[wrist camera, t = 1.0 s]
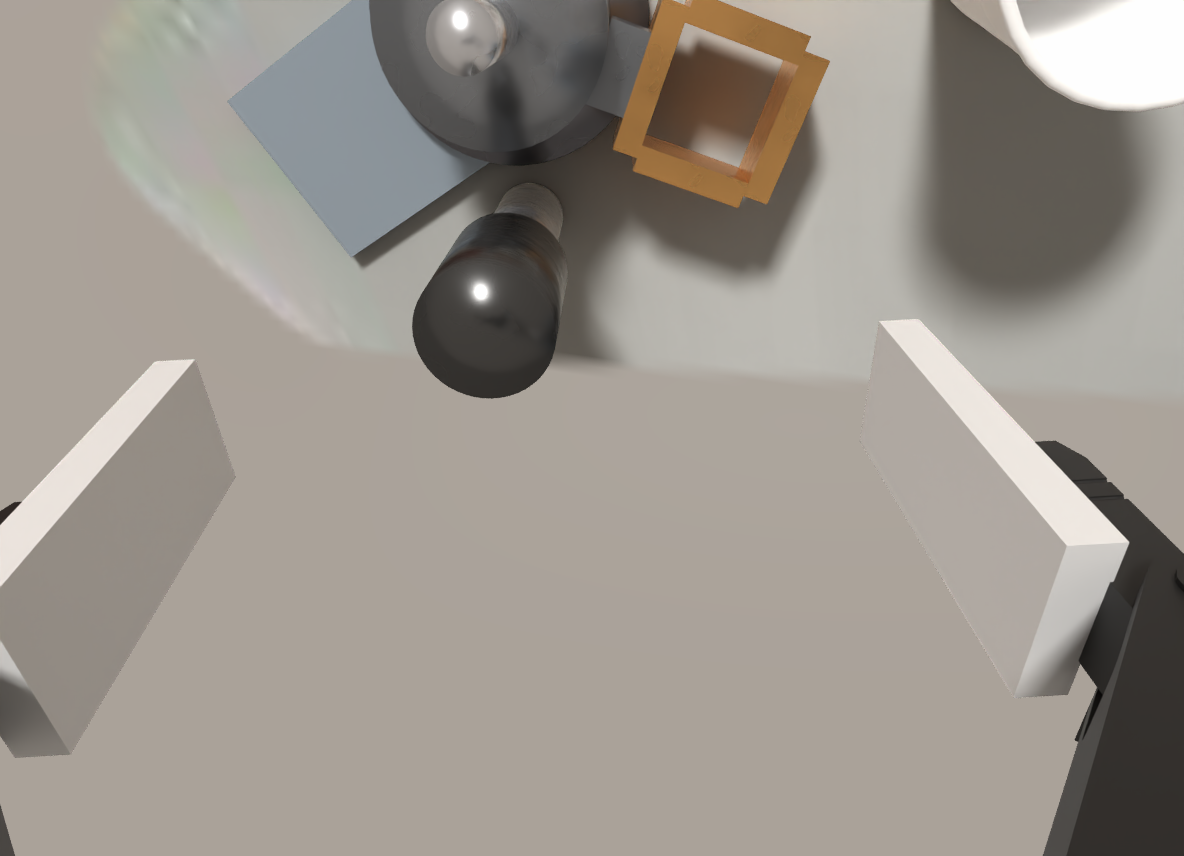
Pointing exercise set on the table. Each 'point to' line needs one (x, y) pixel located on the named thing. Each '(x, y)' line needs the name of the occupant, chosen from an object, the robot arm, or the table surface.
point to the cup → (1094, 47)
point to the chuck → (584, 79)
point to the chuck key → (497, 298)
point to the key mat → (348, 133)
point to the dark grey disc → (588, 123)
